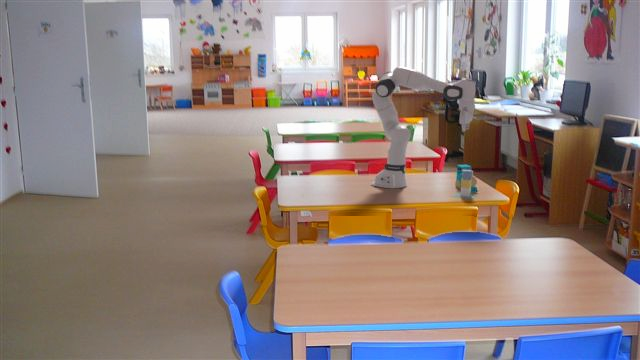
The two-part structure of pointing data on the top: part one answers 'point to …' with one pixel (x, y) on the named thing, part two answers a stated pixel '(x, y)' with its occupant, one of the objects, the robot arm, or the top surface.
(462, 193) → the white block
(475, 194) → the build plate
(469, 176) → the blue block
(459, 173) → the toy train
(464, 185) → the mustard block
